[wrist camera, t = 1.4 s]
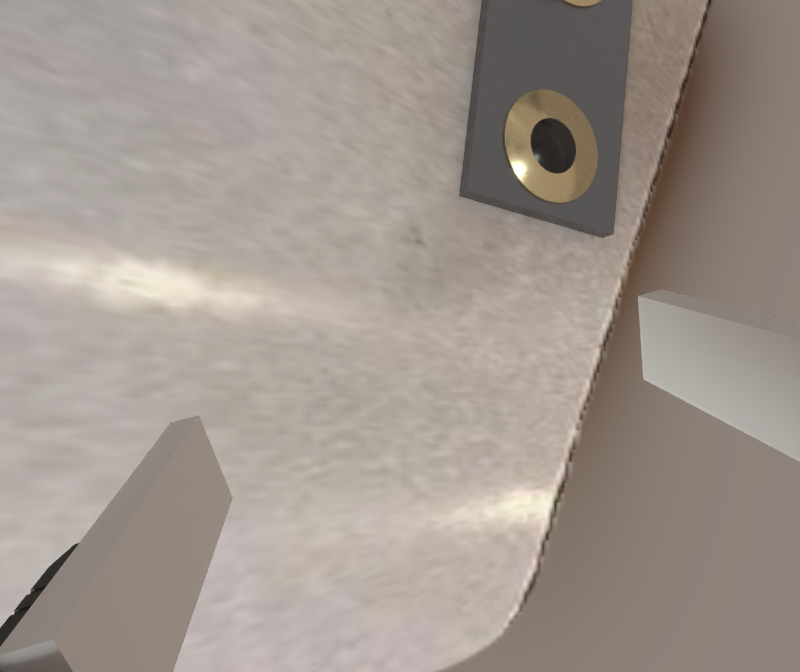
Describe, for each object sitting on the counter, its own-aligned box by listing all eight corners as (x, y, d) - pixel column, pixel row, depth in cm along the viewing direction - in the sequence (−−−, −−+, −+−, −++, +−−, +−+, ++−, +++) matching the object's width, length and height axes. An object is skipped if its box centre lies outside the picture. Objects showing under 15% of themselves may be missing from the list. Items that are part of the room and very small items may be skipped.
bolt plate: (497, -135, 36) (531, -199, 31) (626, -56, 40) (671, -103, 36) (459, 195, 33) (491, 173, 29) (602, 237, 38) (647, 223, 34)
